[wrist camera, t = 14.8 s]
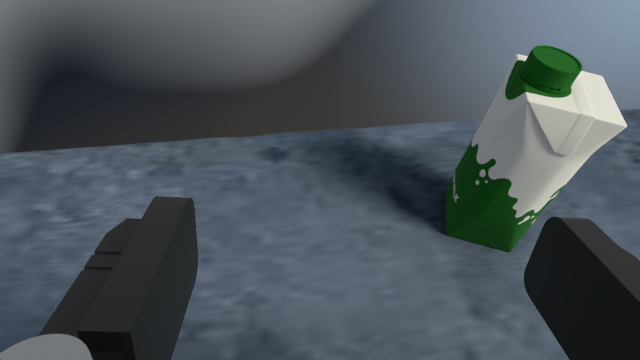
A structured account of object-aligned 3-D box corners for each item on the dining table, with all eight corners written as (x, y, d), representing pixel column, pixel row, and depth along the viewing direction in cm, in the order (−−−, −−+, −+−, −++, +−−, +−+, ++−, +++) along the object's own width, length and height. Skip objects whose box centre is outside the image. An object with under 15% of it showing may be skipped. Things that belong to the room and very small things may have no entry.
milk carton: (438, 182, 50) (520, 26, 36) (511, 202, 50) (625, 52, 36) (436, 239, 44) (535, 79, 30) (520, 262, 44) (661, 111, 30)
